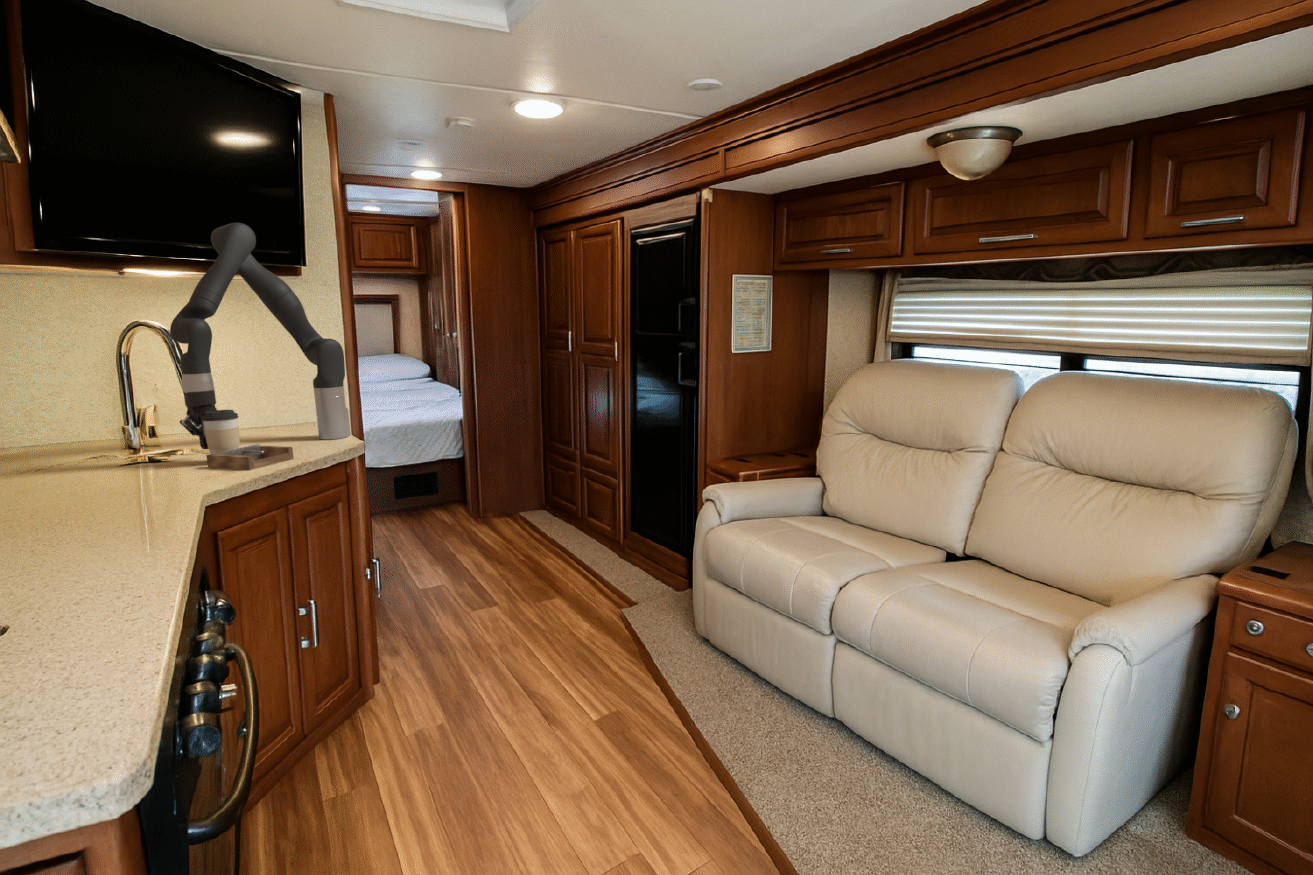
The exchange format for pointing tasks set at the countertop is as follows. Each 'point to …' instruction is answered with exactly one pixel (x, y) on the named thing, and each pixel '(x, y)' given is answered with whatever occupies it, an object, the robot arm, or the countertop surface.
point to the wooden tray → (251, 458)
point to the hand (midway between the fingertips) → (207, 448)
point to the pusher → (246, 451)
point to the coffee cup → (221, 430)
